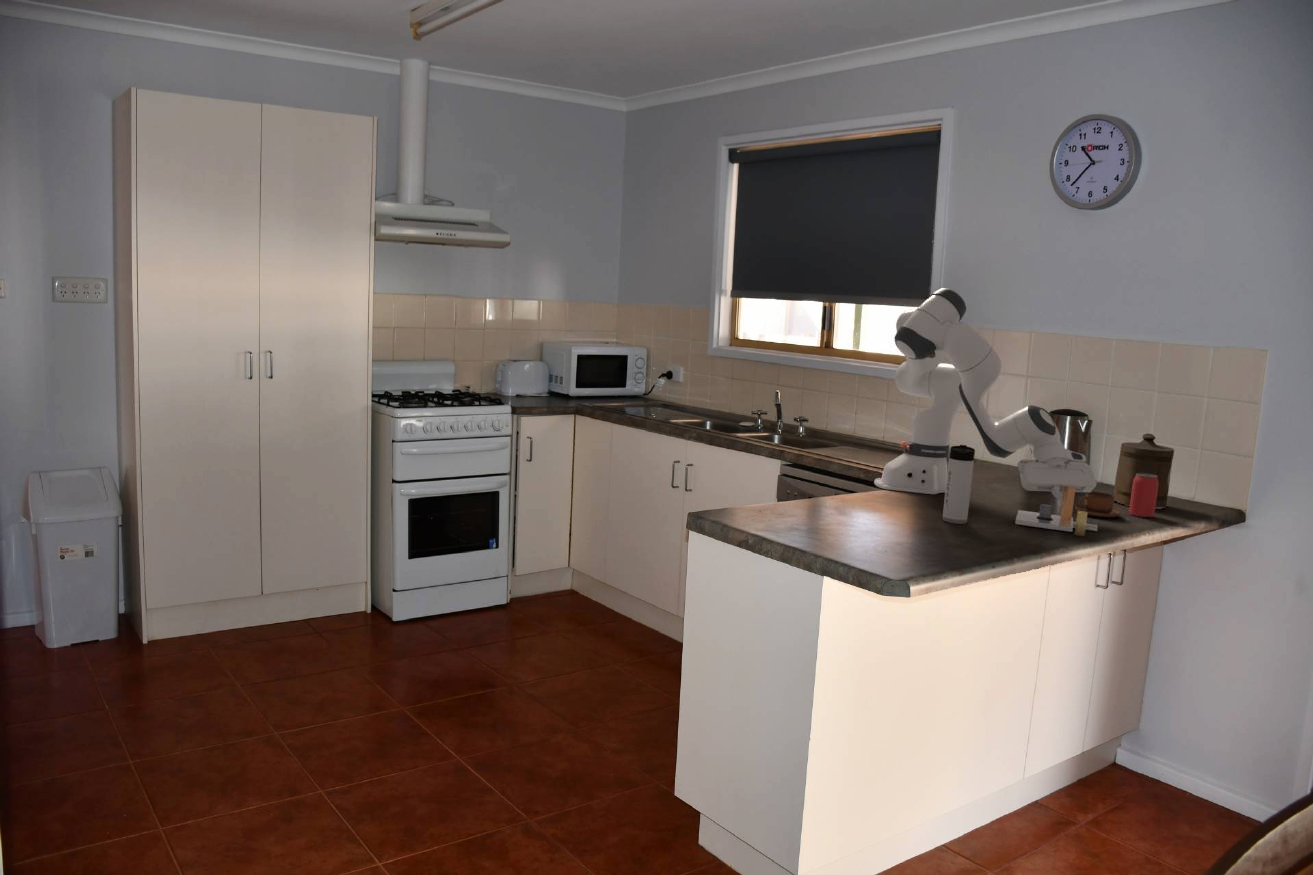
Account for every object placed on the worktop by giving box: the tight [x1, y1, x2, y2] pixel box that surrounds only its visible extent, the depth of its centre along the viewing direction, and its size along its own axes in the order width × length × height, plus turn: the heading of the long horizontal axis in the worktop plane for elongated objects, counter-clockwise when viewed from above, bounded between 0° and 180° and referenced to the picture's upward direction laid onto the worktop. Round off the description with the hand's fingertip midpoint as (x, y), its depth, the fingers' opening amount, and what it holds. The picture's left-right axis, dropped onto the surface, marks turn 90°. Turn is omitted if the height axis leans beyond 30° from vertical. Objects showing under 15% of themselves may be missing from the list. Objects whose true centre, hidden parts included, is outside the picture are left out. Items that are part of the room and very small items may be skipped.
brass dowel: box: [1074, 510, 1088, 537], centre depth 253 cm, size 2×2×6 cm
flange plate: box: [1015, 486, 1099, 533], centre depth 262 cm, size 20×14×10 cm
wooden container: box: [1112, 433, 1175, 508], centre depth 300 cm, size 15×15×22 cm
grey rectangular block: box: [1038, 504, 1053, 521], centre depth 264 cm, size 3×3×5 cm
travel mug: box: [942, 444, 976, 525], centre depth 259 cm, size 6×7×20 cm
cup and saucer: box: [1075, 491, 1122, 519], centre depth 281 cm, size 12×12×6 cm
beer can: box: [1128, 473, 1159, 518], centre depth 283 cm, size 7×7×12 cm
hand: (1065, 502), depth 265 cm, fingers closed, pressing on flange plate
